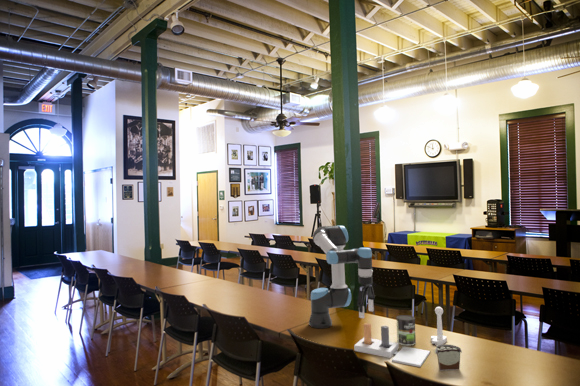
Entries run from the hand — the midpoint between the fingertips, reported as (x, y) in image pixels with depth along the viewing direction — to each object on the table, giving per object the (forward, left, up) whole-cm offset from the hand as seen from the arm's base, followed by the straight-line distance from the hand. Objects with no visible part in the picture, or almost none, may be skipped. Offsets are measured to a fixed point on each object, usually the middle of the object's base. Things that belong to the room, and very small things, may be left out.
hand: (366, 314), depth 214 cm
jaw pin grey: (+10, 0, -18) cm, 21 cm away
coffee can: (+16, +18, -19) cm, 30 cm away
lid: (+23, -1, -18) cm, 30 cm away
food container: (+42, -5, -19) cm, 46 cm away
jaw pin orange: (0, 0, -18) cm, 18 cm away
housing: (+5, 0, -18) cm, 19 cm away
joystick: (+31, +27, -19) cm, 45 cm away
